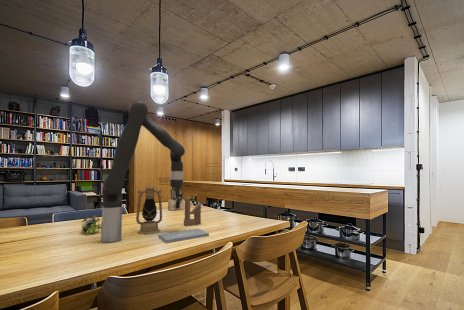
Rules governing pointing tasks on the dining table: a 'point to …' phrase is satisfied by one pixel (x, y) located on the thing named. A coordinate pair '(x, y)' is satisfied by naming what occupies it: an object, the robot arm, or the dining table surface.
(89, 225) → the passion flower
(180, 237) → the slate board
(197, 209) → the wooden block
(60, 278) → the dining table surface
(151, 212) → the lantern
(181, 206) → the sanding block
